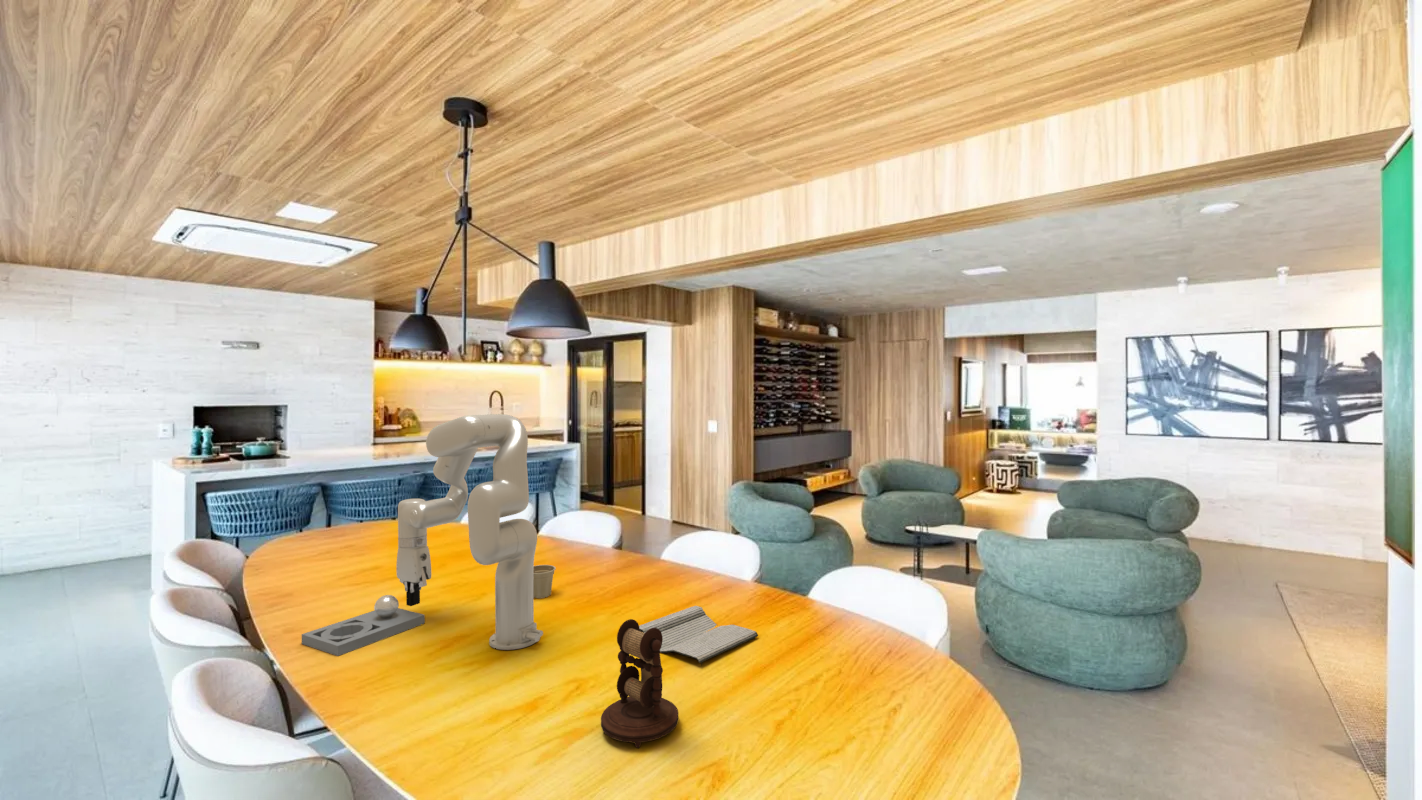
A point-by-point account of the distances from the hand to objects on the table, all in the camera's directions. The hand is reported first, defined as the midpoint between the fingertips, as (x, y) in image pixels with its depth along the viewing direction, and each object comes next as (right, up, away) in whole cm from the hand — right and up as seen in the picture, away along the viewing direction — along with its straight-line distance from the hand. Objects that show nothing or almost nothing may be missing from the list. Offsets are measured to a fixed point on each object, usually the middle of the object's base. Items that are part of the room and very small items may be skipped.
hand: (413, 604), depth 175 cm
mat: (+83, -4, -19) cm, 85 cm away
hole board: (-7, -4, -13) cm, 15 cm away
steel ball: (-4, +2, -7) cm, 8 cm away
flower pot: (+32, -4, +18) cm, 37 cm away
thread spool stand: (+73, -3, -60) cm, 95 cm away
